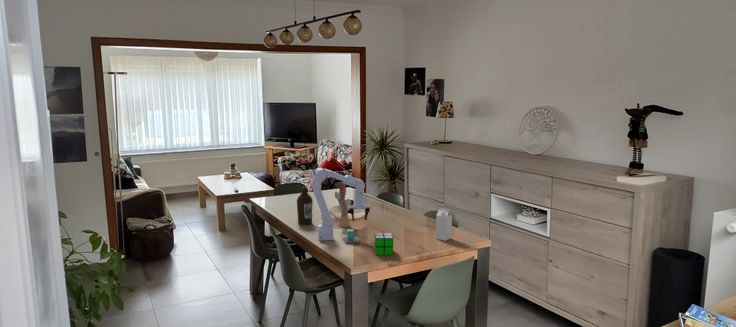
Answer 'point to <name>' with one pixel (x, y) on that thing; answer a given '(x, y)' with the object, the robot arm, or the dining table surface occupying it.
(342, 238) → the gray block
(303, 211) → the olive oil
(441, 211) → the milk carton
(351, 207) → the robot arm
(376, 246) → the puzzle cube
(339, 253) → the dining table surface
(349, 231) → the teal block
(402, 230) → the dining table surface
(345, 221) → the brown statue
